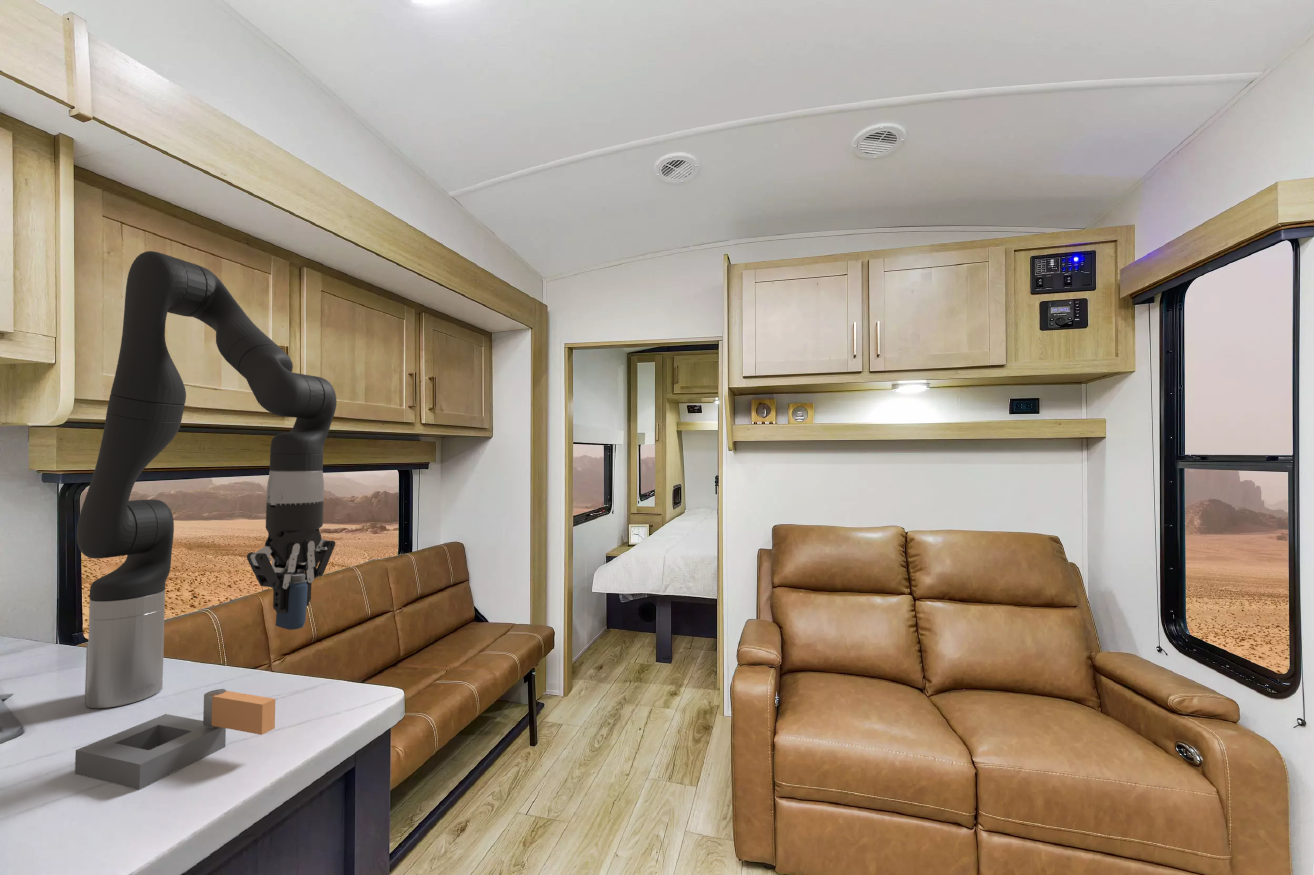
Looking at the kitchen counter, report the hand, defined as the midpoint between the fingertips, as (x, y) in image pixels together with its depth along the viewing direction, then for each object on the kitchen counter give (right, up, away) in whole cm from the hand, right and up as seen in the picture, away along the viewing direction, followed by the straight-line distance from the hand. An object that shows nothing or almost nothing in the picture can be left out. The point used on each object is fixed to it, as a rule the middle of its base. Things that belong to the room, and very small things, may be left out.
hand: (292, 609), depth 84 cm
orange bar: (-1, -13, -10) cm, 16 cm away
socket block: (-10, -16, -12) cm, 23 cm away
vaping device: (0, -3, 0) cm, 3 cm away
